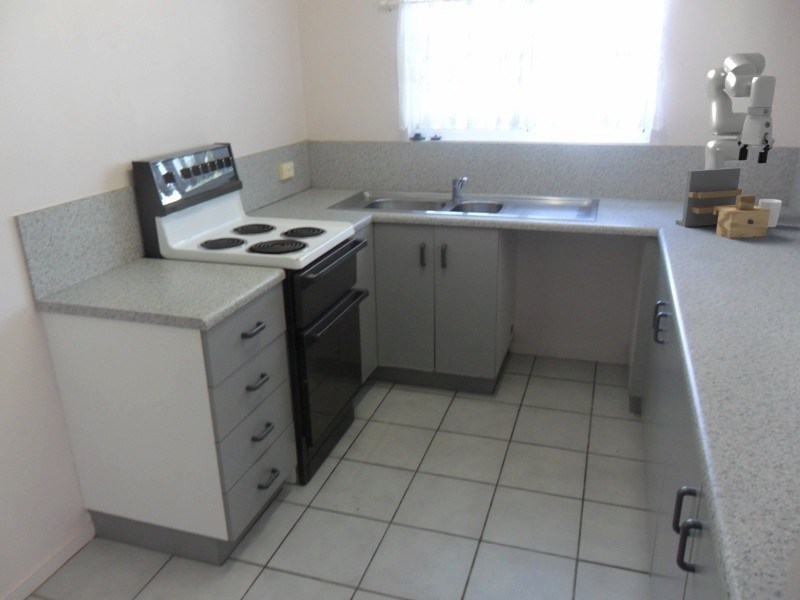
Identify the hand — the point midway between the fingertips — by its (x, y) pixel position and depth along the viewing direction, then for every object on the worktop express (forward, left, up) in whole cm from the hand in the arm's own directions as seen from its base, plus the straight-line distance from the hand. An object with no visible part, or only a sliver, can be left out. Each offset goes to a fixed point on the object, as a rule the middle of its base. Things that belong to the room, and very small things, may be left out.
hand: (751, 161), depth 238 cm
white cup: (-20, -10, -27) cm, 36 cm away
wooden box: (0, -2, -27) cm, 27 cm away
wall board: (0, -19, -27) cm, 33 cm away
